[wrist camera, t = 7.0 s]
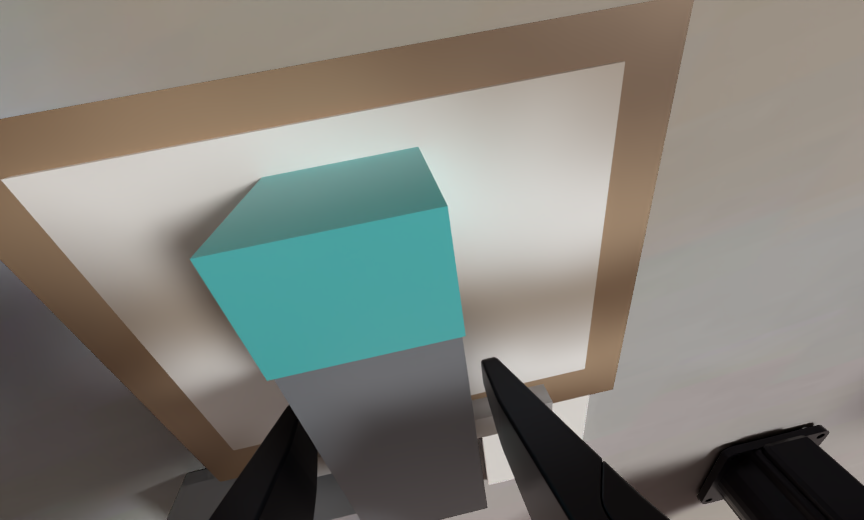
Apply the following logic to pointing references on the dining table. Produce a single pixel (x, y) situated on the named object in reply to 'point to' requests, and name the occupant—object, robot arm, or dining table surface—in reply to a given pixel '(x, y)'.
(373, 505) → the block
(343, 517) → the button housing
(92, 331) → the clipboard
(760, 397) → the dining table surface
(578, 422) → the card
